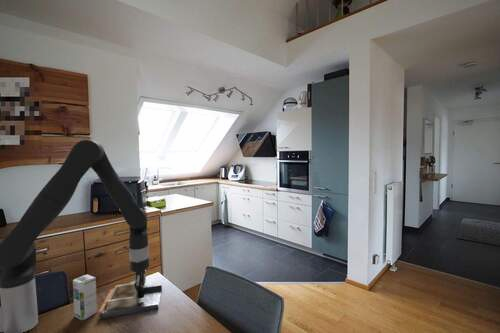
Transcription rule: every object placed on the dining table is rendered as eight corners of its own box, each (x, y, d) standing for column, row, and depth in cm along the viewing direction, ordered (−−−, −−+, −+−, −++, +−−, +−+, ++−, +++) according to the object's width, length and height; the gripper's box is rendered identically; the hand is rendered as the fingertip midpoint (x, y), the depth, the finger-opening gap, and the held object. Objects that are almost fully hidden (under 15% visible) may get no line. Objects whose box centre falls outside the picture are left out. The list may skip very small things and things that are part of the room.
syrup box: (73, 316, 95) (71, 280, 94) (89, 307, 101) (87, 273, 100) (82, 321, 93) (79, 283, 92) (98, 312, 98) (96, 276, 97)
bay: (99, 319, 94) (98, 311, 93) (111, 296, 108) (110, 289, 108) (158, 310, 99) (157, 302, 98) (162, 288, 114) (161, 282, 113)
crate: (107, 313, 96) (107, 301, 96) (116, 296, 107) (115, 285, 107) (135, 309, 98) (135, 297, 98) (141, 292, 110) (140, 282, 109)
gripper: (133, 251, 108) (134, 289, 110) (125, 265, 96) (128, 308, 97) (151, 249, 110) (153, 287, 111) (146, 262, 97) (148, 305, 99)
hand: (141, 297), depth 104 cm, fingers closed
